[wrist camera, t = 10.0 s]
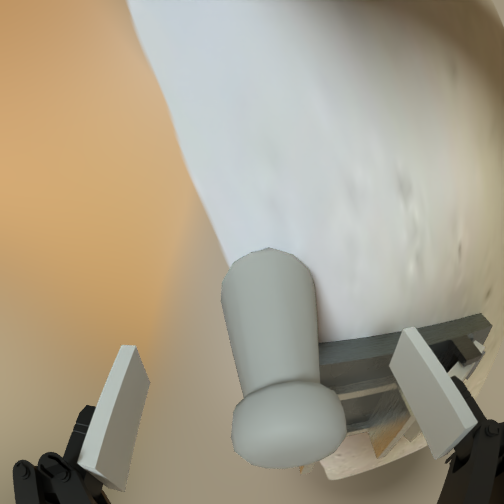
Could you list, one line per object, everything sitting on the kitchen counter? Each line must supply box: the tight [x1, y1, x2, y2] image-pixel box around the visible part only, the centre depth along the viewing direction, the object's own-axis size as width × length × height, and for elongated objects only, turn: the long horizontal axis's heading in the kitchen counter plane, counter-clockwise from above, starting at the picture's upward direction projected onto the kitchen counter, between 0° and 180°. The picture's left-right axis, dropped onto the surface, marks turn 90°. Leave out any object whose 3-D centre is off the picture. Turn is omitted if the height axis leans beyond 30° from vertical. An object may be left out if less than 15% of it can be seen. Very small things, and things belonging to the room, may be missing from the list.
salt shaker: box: [221, 247, 347, 469], centre depth 13 cm, size 6×6×13 cm
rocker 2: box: [448, 340, 485, 382], centre depth 19 cm, size 4×8×2 cm, turn 91°
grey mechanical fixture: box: [299, 313, 492, 475], centre depth 22 cm, size 13×22×8 cm, turn 91°
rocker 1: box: [404, 419, 422, 442], centre depth 22 cm, size 4×8×2 cm, turn 92°
